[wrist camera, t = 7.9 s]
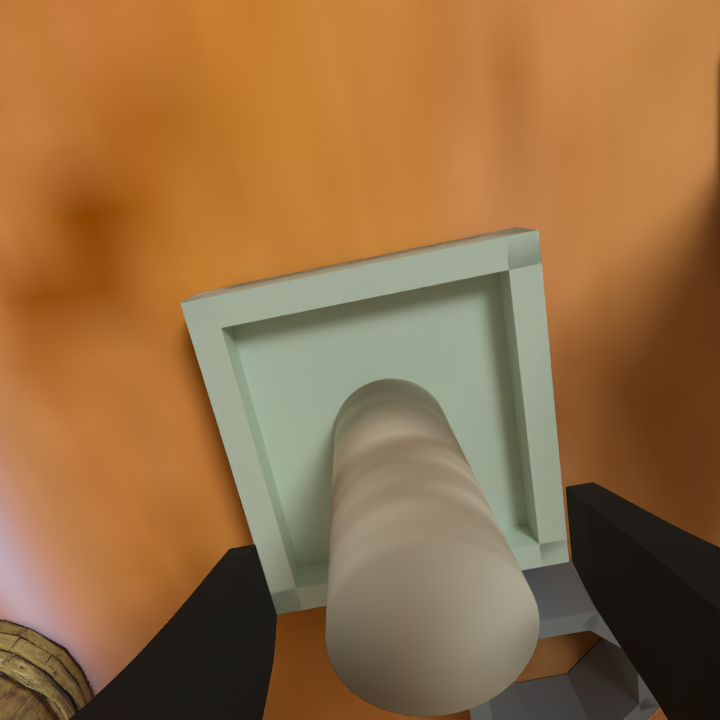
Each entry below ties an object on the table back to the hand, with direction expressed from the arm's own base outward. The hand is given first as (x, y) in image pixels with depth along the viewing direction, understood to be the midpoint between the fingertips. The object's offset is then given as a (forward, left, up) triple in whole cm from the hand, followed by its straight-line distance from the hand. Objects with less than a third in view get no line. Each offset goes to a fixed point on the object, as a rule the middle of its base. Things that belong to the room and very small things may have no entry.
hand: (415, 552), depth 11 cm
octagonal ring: (-4, +11, -8) cm, 14 cm away
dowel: (0, 0, -7) cm, 7 cm away
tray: (0, 0, -8) cm, 8 cm away
